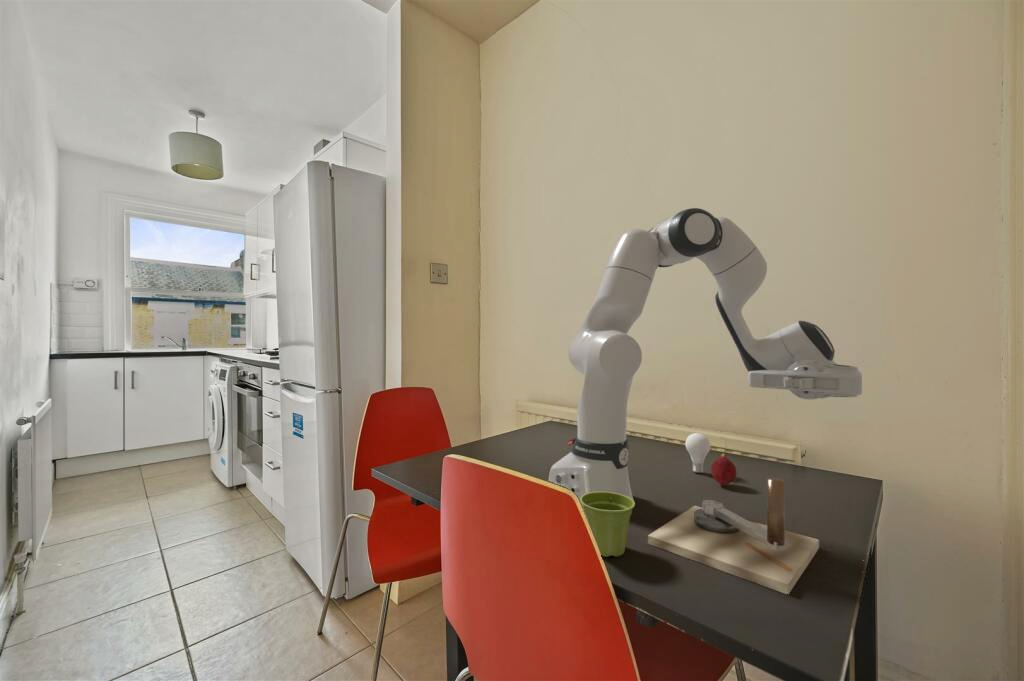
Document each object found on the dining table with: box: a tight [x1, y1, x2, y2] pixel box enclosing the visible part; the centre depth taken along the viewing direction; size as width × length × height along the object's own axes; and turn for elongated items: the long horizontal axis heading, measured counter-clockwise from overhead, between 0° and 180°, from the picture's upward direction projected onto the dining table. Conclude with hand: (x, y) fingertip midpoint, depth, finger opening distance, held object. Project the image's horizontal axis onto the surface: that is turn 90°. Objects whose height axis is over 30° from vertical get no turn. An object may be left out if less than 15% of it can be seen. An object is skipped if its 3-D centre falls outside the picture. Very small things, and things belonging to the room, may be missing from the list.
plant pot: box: [580, 492, 636, 558], centre depth 76 cm, size 9×9×9 cm
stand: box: [647, 505, 820, 595], centre depth 77 cm, size 22×20×2 cm
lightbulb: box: [684, 432, 711, 474], centre depth 120 cm, size 6×6×11 cm
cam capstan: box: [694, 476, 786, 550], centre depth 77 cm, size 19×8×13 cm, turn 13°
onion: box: [710, 453, 738, 487], centre depth 109 cm, size 6×6×8 cm
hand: (793, 383), depth 87 cm, fingers closed
